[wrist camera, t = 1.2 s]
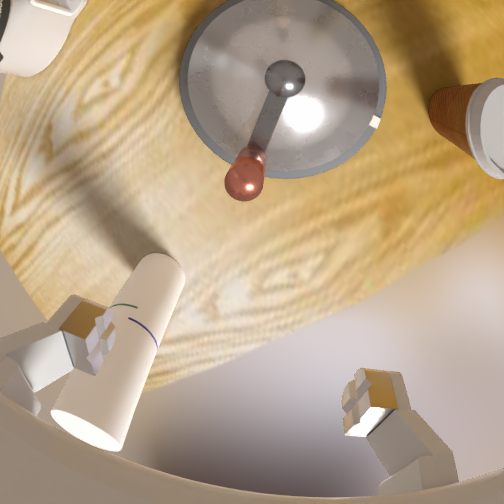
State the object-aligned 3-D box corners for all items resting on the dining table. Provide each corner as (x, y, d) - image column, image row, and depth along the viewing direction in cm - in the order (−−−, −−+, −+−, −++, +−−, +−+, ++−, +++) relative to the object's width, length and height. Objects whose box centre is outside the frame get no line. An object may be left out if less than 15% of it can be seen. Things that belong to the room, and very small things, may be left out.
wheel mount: (170, 14, 24) (163, 10, 22) (363, -10, 21) (368, -15, 19) (205, 185, 34) (201, 192, 32) (386, 165, 31) (393, 171, 29)
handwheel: (228, -23, 20) (209, -62, 12) (400, 45, 22) (446, 34, 14) (166, 139, 29) (126, 161, 21) (328, 199, 32) (346, 242, 23)
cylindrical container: (173, 302, 44) (114, 455, 22) (131, 278, 42) (50, 422, 21) (193, 270, 40) (129, 442, 19) (148, 243, 39) (50, 399, 17)
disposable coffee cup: (482, 88, 24) (546, 100, 14) (472, 158, 29) (531, 192, 19) (419, 65, 24) (480, 62, 14) (411, 142, 29) (467, 172, 19)
